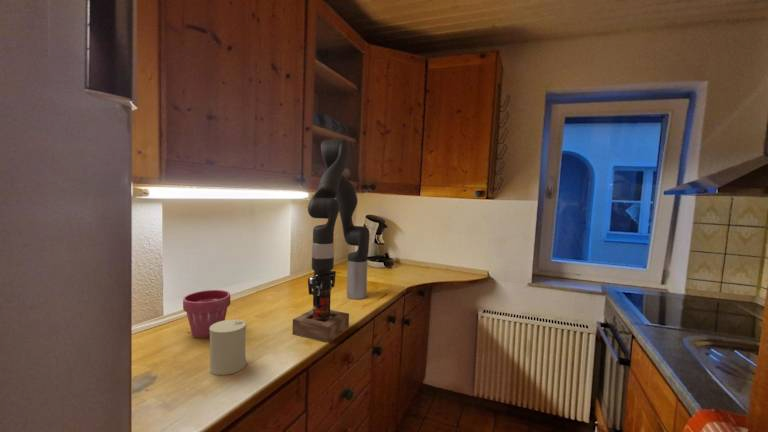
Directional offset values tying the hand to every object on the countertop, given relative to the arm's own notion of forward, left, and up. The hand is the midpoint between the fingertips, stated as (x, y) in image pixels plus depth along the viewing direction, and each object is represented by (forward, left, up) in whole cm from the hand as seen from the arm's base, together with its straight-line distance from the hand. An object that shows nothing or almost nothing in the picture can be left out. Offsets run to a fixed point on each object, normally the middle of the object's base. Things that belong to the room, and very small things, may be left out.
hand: (321, 303), depth 119 cm
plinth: (0, 0, -10) cm, 10 cm away
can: (+32, -9, -10) cm, 35 cm away
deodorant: (0, 0, -5) cm, 5 cm away
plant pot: (+19, -33, -10) cm, 39 cm away
